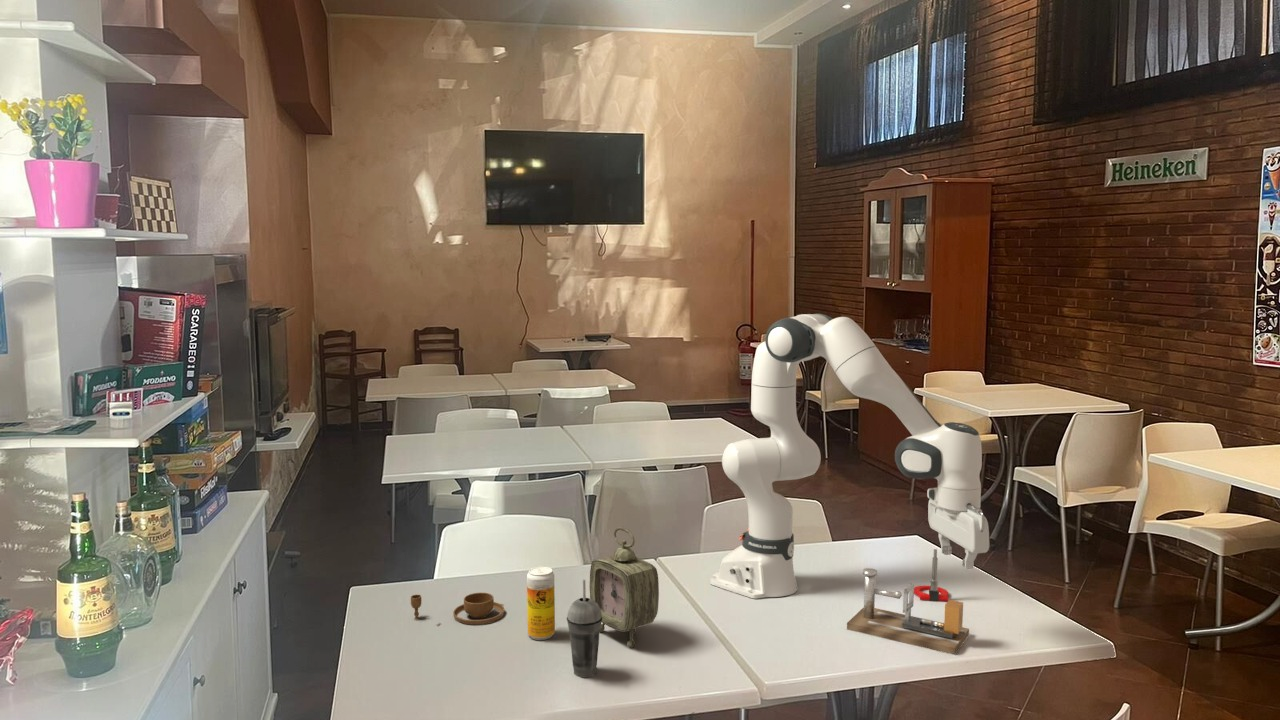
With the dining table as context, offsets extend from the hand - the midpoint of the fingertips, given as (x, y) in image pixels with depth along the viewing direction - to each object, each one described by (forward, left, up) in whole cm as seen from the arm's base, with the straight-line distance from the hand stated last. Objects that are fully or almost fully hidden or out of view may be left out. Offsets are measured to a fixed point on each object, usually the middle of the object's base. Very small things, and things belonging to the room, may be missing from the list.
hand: (956, 560), depth 196 cm
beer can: (-78, -47, -19) cm, 93 cm away
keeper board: (-10, 0, -19) cm, 21 cm away
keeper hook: (-16, 0, -17) cm, 24 cm away
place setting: (-102, -47, -20) cm, 114 cm away
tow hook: (-12, +26, -19) cm, 35 cm away
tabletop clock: (-62, -37, -19) cm, 75 cm away
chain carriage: (-5, 0, -17) cm, 17 cm away
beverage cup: (-59, -56, -19) cm, 84 cm away
